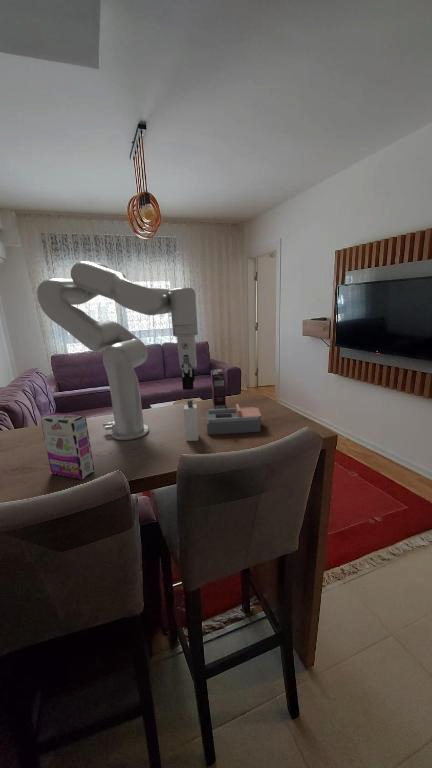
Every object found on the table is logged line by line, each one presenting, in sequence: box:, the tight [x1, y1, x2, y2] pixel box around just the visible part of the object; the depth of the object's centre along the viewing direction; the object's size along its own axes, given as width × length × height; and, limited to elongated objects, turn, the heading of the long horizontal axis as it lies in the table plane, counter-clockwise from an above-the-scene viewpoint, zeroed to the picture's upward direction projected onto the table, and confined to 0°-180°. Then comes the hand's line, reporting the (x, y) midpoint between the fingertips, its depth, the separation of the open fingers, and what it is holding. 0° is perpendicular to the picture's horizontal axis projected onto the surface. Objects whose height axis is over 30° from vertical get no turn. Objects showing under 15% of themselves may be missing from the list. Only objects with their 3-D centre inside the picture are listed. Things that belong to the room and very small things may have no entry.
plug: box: [183, 399, 200, 442], centre depth 103 cm, size 4×4×13 cm
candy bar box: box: [40, 412, 95, 480], centre depth 85 cm, size 11×5×16 cm, turn 69°
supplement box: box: [210, 368, 227, 409], centre depth 129 cm, size 9×5×16 cm, turn 6°
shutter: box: [235, 403, 262, 420], centre depth 111 cm, size 8×8×3 cm
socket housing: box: [206, 406, 262, 435], centre depth 112 cm, size 18×11×5 cm, turn 92°
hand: (189, 385), depth 100 cm, fingers open, 9 cm apart
